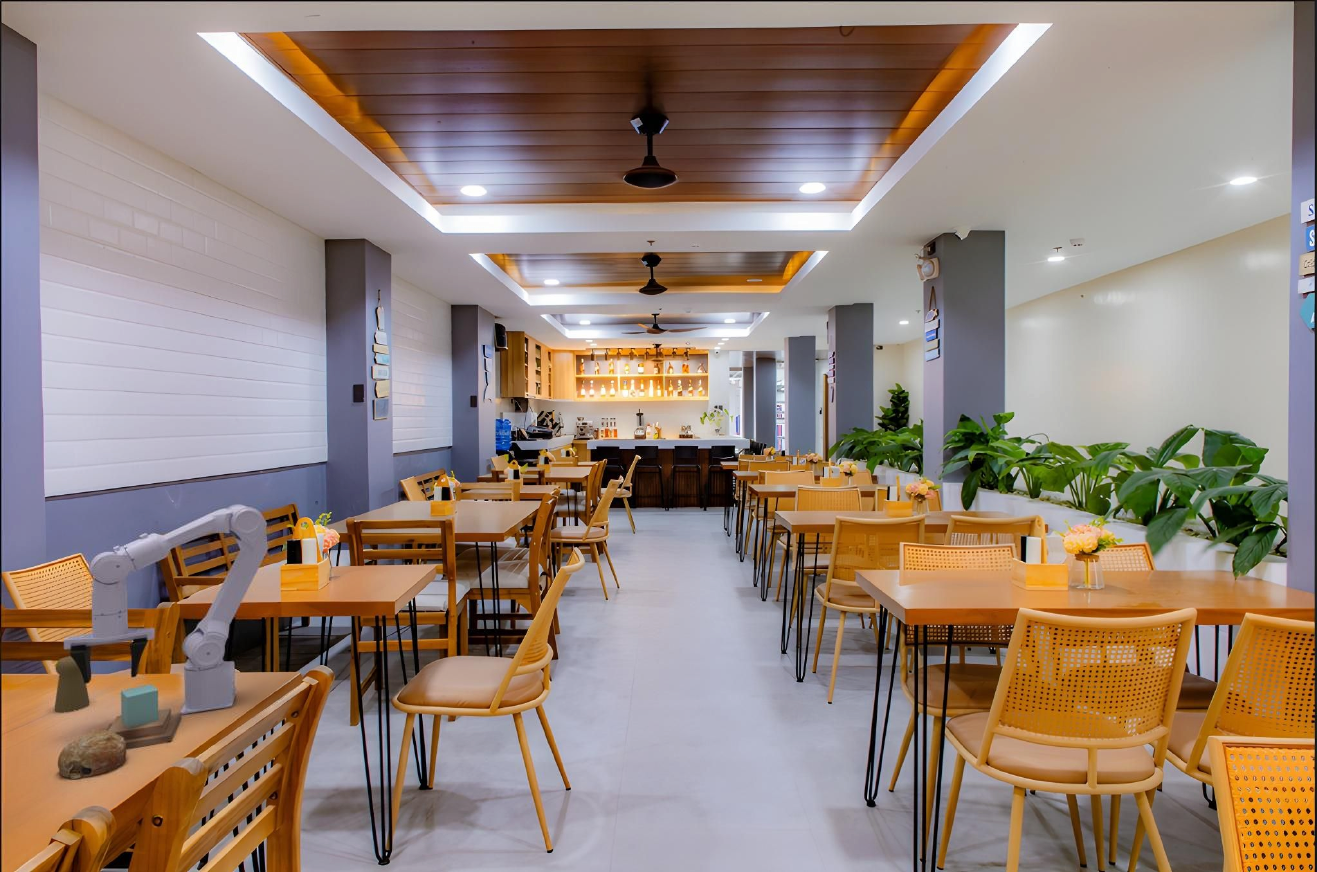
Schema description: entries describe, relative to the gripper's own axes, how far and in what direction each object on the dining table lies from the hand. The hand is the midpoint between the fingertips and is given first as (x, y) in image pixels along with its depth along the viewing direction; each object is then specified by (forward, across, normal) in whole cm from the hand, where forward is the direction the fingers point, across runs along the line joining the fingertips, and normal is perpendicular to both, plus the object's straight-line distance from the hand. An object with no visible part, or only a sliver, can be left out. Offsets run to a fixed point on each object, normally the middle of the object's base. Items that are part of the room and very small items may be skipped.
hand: (111, 678), depth 146 cm
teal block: (+7, -6, +7) cm, 12 cm away
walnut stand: (+10, -6, +7) cm, 14 cm away
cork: (+10, +10, -17) cm, 22 cm away
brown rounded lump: (+10, -1, +18) cm, 21 cm away
